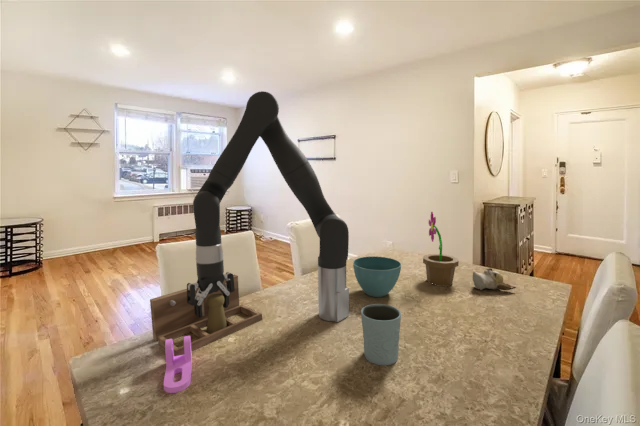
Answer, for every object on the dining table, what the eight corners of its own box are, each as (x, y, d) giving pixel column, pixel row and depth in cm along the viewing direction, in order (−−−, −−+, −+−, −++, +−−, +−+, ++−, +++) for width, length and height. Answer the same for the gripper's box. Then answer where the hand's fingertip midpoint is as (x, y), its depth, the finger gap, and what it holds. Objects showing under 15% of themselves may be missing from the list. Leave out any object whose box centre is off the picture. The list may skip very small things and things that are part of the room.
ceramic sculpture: (467, 263, 132) (502, 265, 133) (464, 284, 134) (499, 285, 135) (481, 272, 122) (519, 273, 123) (478, 294, 123) (516, 295, 124)
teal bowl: (406, 290, 128) (407, 260, 126) (390, 306, 113) (391, 272, 111) (364, 282, 138) (365, 254, 136) (344, 296, 123) (344, 265, 121)
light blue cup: (392, 372, 77) (393, 324, 75) (353, 359, 82) (354, 314, 80) (405, 351, 85) (406, 308, 84) (369, 341, 90) (370, 300, 89)
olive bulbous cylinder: (220, 335, 94) (218, 299, 93) (202, 333, 96) (200, 297, 94) (231, 326, 100) (229, 292, 99) (214, 323, 102) (212, 290, 100)
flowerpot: (418, 275, 145) (421, 209, 141) (451, 276, 143) (455, 209, 139) (426, 287, 131) (428, 214, 127) (462, 288, 129) (466, 214, 125)
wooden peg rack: (262, 319, 104) (260, 284, 102) (176, 358, 83) (173, 314, 82) (236, 307, 114) (234, 274, 112) (153, 339, 93) (149, 299, 91)
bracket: (168, 362, 82) (166, 336, 81) (191, 358, 83) (190, 332, 83) (162, 396, 69) (160, 366, 69) (190, 389, 71) (188, 360, 70)
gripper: (193, 267, 87) (196, 324, 89) (237, 256, 97) (240, 307, 99) (179, 262, 91) (183, 316, 94) (224, 252, 102) (226, 300, 104)
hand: (212, 311), depth 96 cm, fingers open, 8 cm apart
